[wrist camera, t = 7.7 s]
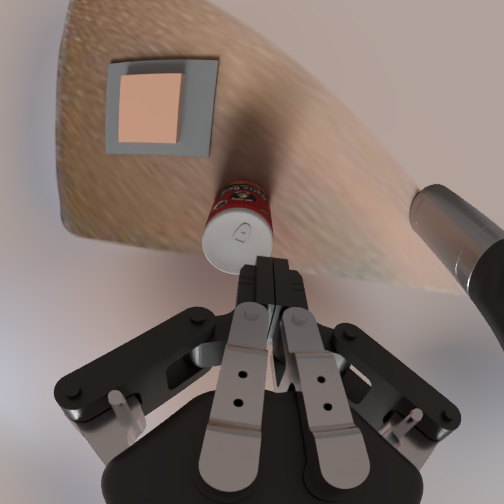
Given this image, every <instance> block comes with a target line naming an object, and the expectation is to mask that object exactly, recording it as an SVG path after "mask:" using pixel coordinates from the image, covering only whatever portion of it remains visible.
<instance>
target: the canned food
mask: <svg viewBox="0 0 504 504" xmlns="http://www.w3.org/2000/svg"><path fill="white" fill-rule="evenodd" d="M202 246H203V251H204V254H205V256H206V258H207V259H208V261H209V262H210V263H211V264H212V265H213V266H214V267H216V268H217V269H219V270H221V271H223V272H226V273H230V274H240V269H241V268H242V267H243V266H244V265H245V264H248V265H255V262H256V257H257V255H258V256H266V257H269V256H270V254H271V252H272V247H273V228H272V220H271V211H270V203H269V199H268V197H267V195H266V193H265V191H264V190H263V189H262V188H261V187H260V186H259V185H257V184H255V183H253V182H250V181H244V180H240V181H235V182H231V183H229V184H227V185H226V186H224V187H223V188H222V189H221V190H220V191H219V193H218V194H217V196H216V198H215V201H214V203H213V206H212V209H211V211H210V214H209V217H208V220H207V223H206V226H205V229H204V232H203V238H202Z"/></svg>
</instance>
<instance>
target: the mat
mask: <svg viewBox="0 0 504 504" xmlns="http://www.w3.org/2000/svg"><path fill="white" fill-rule="evenodd" d="M218 65H219V61H218V60H149V61H134V62H123V63H113V64H108V76H107V91H106V119H105V148H106V154H155V155H176V156H191V157H205V158H209V153H210V141H211V130H212V119H213V109H214V100H215V90H216V82H217V73H218ZM164 73H182V74H185V78H184V88H183V99H182V111H181V125H180V141H179V142H177V143H148V142H119V101H120V84H121V76H124V75H138V74H164Z"/></svg>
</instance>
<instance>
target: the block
mask: <svg viewBox="0 0 504 504" xmlns="http://www.w3.org/2000/svg"><path fill="white" fill-rule="evenodd" d="M184 78H185V74H182V73H164V74H138V75H124V76H121V84H120V101H119V142H148V143H177V142H179V141H180V125H181V111H182V99H183V88H184Z"/></svg>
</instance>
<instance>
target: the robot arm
mask: <svg viewBox="0 0 504 504" xmlns="http://www.w3.org/2000/svg"><path fill="white" fill-rule="evenodd" d="M410 223H411V226H412V228H413V229H414V231H415V232H416V233H417V234H418V235H419V236H420V238H421V239H422V240H423V241H424V242H425V243H426V244H427V246H428V247H429V248H430V249H431V250H432V251H433V252H434V254H435V255H436V256H437V257H438V258H439V259H440V261H441V262H442V263H443V264H444V265H445V267H446V268H447V269H448V270H449V271H450V273H451V274H452V275H453V276H454V278H455V279H456V280H457V281H458V283H459V284H460V285H461V286H462V288H463V289H464V290H465V292H466V293H467V294H468V296H469V297H470V298H471V300H472V301H473V302H474V304H475V305H476V307H477V308H478V309H479V311H480V312H481V314H482V315H483V316H484V318H485V320H486V321H487V323H488V324H489V326H490V327H491V329H492V331H493V332H494V334H495V336H496V337H497V339H498V341H499V343H500V345H501V347H502V349H503V351H504V230H502V229H501V228H500V227H499V226H497V225H496V224H495V223H494V222H492V221H491V220H490V219H489V218H487V217H486V216H485V215H484V214H482V213H481V212H480V211H478V210H477V209H476V208H475V207H473V206H472V205H471V204H469V203H468V202H466V201H465V200H464V199H462V198H461V197H459V196H458V195H457V194H455V193H454V192H452V191H451V190H449V189H448V188H446V187H445V186H442V185H440V184H434V185H430V186H428V187H426V188H424V189H423V190H421V191H420V192H419V194H418V195H417V196H416V197H415V199H414V201H413V203H412V205H411V209H410ZM303 285H304V284H303V279H302V276H301V275H300V274H299V273H298V271H296V270H289V265H288V259H281V258H274V257H273V258H272V257H266V256H258V255H257V257H256V262H255V265H248V264H245V265H244V266H243V267H242V268H241V269H240V274H239V282H238V289H237V297H236V306H235V309H234V310H233V311H232V312H230V313H228V314H225V315H221V316H214V314H213V313H212V312H211V311H210V310H208V309H206V308H203V307H191V308H188V309H186V310H184V311H182V312H181V313H179V314H177V315H175V316H173V317H172V318H170V319H168V320H166V321H165V322H163V323H161V324H159V325H158V326H156V327H154V328H152V329H150V330H148V331H147V332H145V333H143V334H141V335H140V336H138V337H136V338H134V339H132V340H130V341H129V342H127V343H125V344H123V345H121V346H120V347H118V348H116V349H114V350H112V351H111V352H109V353H107V354H105V355H103V356H101V357H99V358H97V359H96V360H94V361H92V362H90V363H88V364H86V365H85V366H83V367H81V368H79V369H77V370H75V371H73V372H72V373H70V374H68V375H66V376H64V377H62V378H61V379H60V380H59V381H58V382H57V384H56V385H55V388H54V397H55V400H56V401H57V403H58V404H59V406H60V407H61V408H62V410H63V411H64V414H65V415H66V417H67V418H68V419H69V421H70V422H71V423H72V424H73V426H74V427H75V428H76V429H77V430H78V431H79V432H80V433H81V434H82V435H83V436H84V437H85V438H86V440H87V441H88V443H89V444H90V445H91V447H92V448H93V449H94V451H95V452H96V454H97V455H98V456H99V457H100V459H101V460H102V462H103V463H104V464H105V465H106V468H105V470H104V472H103V475H102V480H101V488H102V493H103V496H104V499H105V502H106V504H420V501H421V498H422V495H423V480H422V476H421V474H420V472H419V470H420V469H421V467H422V466H423V465H424V463H425V462H426V460H427V459H428V458H429V456H430V455H431V453H432V451H433V450H434V448H435V447H436V445H437V444H438V443H439V442H440V441H442V440H443V439H444V438H445V437H447V436H448V435H449V434H450V433H452V432H453V431H454V430H455V429H456V428H458V426H459V425H460V423H461V414H460V412H459V410H458V408H457V407H456V406H455V405H454V404H452V402H450V401H449V400H448V399H447V398H446V397H444V396H443V395H442V394H440V393H439V392H438V391H437V390H436V389H434V388H433V387H432V386H431V385H429V384H428V383H427V382H426V381H425V380H423V379H422V378H421V377H420V376H418V375H417V374H416V373H415V372H413V371H412V370H411V369H410V368H408V367H407V366H406V365H405V364H403V363H402V362H401V361H400V360H398V359H397V358H396V357H395V356H393V355H392V354H391V353H390V352H388V351H387V350H386V349H385V348H383V347H382V346H381V345H380V344H378V343H377V342H376V341H375V340H373V339H372V338H371V337H370V336H368V335H367V334H366V333H365V332H363V331H362V330H361V329H359V328H358V327H357V326H355V325H353V324H350V323H341V324H338V325H337V326H336V327H335V329H331V328H328V327H325V326H322V325H320V324H318V323H317V322H316V319H315V317H314V315H313V314H312V313H311V312H310V311H308V305H307V300H306V294H305V289H304V286H303ZM267 344H271V345H273V350H272V354H271V358H270V359H271V368H272V376H273V385H274V392H272V391H268V390H265V380H266V368H267V357H268V350H266V345H267ZM351 364H352V365H353V366H354V367H355V368H356V369H357V370H359V371H360V372H361V373H362V374H363V375H364V376H366V377H367V378H368V379H369V380H370V382H371V385H372V387H371V386H370V385H368V384H367V383H366V382H365V381H364V380H362V379H361V378H360V377H359V376H358V375H357V374H356V373H354V372H353V371H352V370H351V369H350V366H351ZM219 365H221V369H220V373H219V378H218V382H217V387H216V390H214V391H209V392H206V393H203V394H201V395H199V396H197V397H195V398H193V399H192V400H191V401H189V402H188V403H187V404H186V405H184V406H183V407H182V408H180V409H179V410H178V411H177V412H175V413H174V414H173V415H171V416H170V417H169V418H168V419H166V420H165V421H164V422H162V423H161V424H160V425H158V426H157V427H156V428H154V429H153V430H152V431H150V432H149V433H148V434H146V435H145V436H144V437H142V438H141V439H139V440H138V441H137V442H135V440H136V439H137V437H138V436H139V435H140V434H141V433H142V432H143V431H144V429H145V427H146V420H145V416H146V415H147V414H149V413H150V412H152V411H153V410H154V409H156V408H157V407H159V406H160V405H162V404H163V403H165V402H166V401H168V400H169V399H171V398H172V397H173V396H175V395H176V394H178V393H179V392H181V391H182V390H183V389H185V388H186V387H188V386H189V385H190V384H192V383H193V382H195V381H196V380H197V379H199V378H200V377H202V376H203V375H204V374H206V373H207V372H208V371H209V370H210V369H211V368H212V366H219ZM134 442H135V443H134Z"/></svg>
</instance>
